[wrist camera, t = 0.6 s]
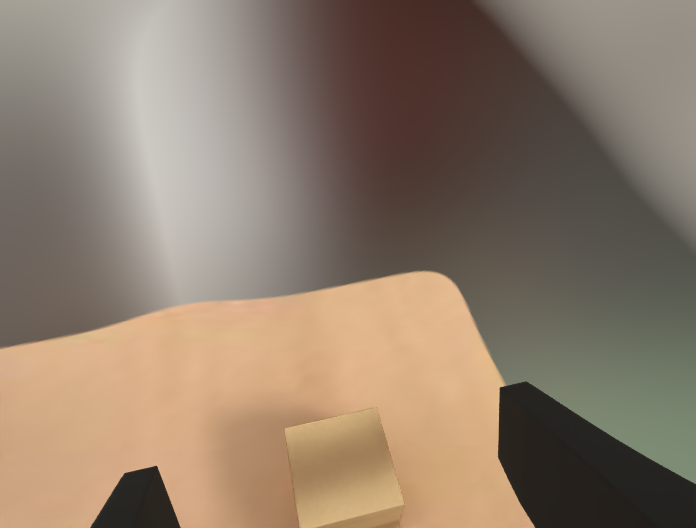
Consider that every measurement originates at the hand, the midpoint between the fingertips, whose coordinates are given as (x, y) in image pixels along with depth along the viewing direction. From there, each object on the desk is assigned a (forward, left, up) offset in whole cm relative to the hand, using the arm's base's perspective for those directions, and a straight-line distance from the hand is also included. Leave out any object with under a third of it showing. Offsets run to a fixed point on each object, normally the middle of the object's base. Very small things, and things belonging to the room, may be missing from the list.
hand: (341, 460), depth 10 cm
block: (+5, -1, -20) cm, 20 cm away
